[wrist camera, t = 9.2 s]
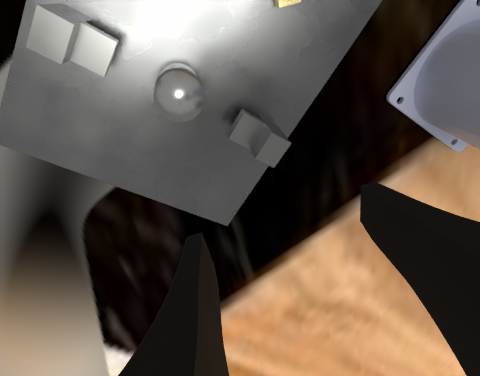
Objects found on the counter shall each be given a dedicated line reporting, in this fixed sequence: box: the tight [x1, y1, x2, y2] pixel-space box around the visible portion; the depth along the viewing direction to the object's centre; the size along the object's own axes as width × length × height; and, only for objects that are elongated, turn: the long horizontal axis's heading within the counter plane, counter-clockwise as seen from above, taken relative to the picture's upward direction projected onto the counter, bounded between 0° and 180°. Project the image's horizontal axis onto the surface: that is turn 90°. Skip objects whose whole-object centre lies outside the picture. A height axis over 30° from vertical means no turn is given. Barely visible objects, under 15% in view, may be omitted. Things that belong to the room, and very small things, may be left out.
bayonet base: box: [0, 0, 382, 226], centre depth 16 cm, size 16×22×4 cm
